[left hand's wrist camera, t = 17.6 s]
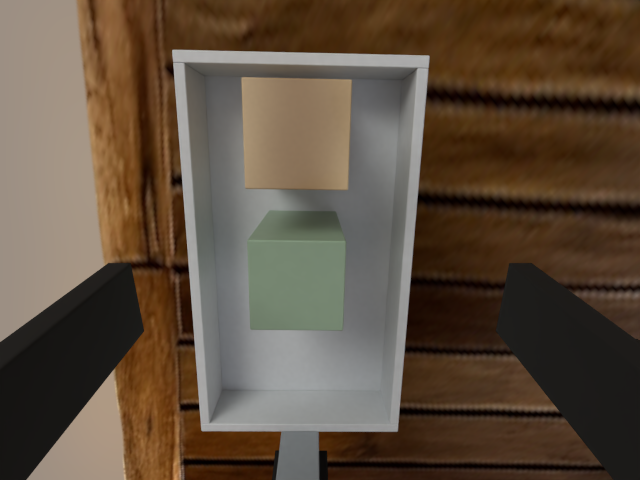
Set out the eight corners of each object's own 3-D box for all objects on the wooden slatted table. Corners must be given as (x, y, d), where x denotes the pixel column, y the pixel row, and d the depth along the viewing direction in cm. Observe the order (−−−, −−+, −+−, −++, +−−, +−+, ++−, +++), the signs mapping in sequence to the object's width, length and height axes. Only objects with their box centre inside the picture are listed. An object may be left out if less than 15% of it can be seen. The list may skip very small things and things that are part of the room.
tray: (196, 67, 22) (104, 2, 12) (410, 71, 22) (483, 12, 13) (222, 484, 30) (178, 645, 20) (379, 485, 30) (410, 643, 21)
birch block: (339, 103, 22) (352, 79, 14) (337, 176, 23) (348, 190, 16) (266, 101, 22) (241, 76, 14) (267, 175, 23) (244, 189, 16)
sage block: (336, 211, 24) (346, 241, 16) (334, 274, 25) (343, 331, 17) (268, 210, 24) (246, 239, 16) (269, 274, 25) (249, 330, 17)
